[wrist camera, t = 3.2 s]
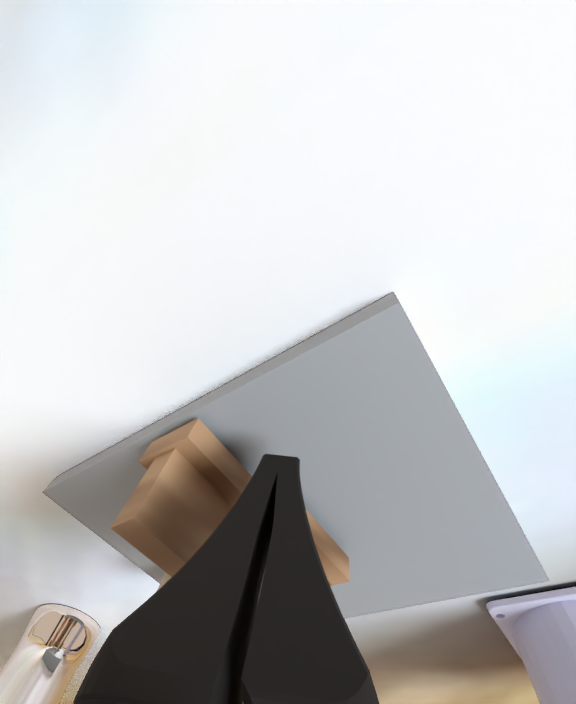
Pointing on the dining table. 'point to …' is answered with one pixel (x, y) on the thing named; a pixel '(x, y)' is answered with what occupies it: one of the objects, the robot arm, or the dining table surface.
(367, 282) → the dining table surface
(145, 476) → the brown wooden blocky piece
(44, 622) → the beer glass
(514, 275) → the dining table surface
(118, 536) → the base board
